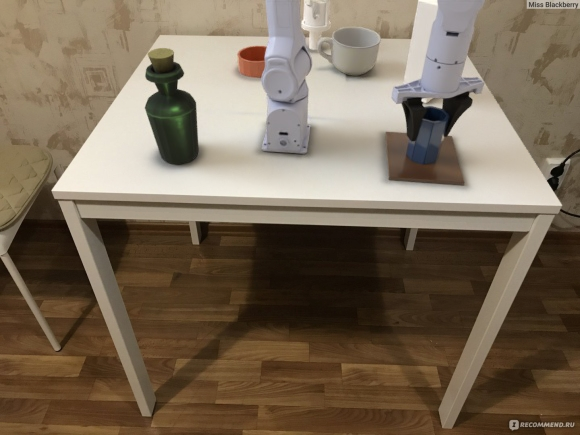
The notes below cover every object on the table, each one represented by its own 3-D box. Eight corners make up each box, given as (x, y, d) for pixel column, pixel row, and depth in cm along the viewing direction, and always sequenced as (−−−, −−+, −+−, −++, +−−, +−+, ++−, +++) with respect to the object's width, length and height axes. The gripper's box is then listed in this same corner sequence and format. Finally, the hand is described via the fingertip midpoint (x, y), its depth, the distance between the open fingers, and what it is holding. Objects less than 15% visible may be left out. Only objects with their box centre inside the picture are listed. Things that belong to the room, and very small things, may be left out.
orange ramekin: (275, 80, 101) (274, 63, 99) (235, 78, 102) (233, 60, 99) (280, 63, 108) (280, 46, 105) (242, 61, 109) (241, 44, 106)
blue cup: (415, 166, 77) (424, 124, 71) (402, 149, 80) (410, 108, 75) (443, 161, 78) (454, 120, 72) (429, 145, 81) (439, 104, 76)
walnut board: (463, 185, 74) (464, 182, 73) (388, 179, 75) (389, 176, 74) (451, 138, 84) (452, 135, 84) (385, 134, 85) (385, 131, 85)
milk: (426, 104, 94) (452, -12, 79) (400, 94, 97) (420, -19, 82) (440, 93, 97) (467, -20, 82) (415, 84, 100) (437, -26, 85)
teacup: (375, 61, 109) (380, 27, 104) (377, 81, 101) (382, 45, 96) (317, 58, 110) (318, 24, 105) (314, 78, 102) (316, 43, 97)
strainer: (295, 49, 114) (296, -16, 104) (312, 41, 118) (315, -22, 108) (317, 57, 111) (320, -10, 101) (334, 48, 115) (339, -17, 105)
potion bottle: (194, 170, 77) (177, 66, 64) (148, 165, 78) (123, 62, 65) (209, 143, 82) (195, 44, 70) (166, 139, 83) (145, 40, 71)
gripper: (475, 41, 72) (454, 118, 81) (389, 50, 69) (377, 129, 78) (501, 60, 66) (475, 139, 76) (409, 70, 64) (394, 151, 73)
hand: (427, 135), depth 76 cm, fingers closed on blue cup, 5 cm apart
